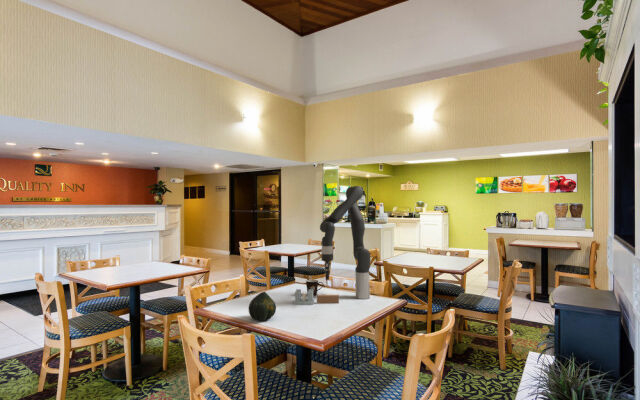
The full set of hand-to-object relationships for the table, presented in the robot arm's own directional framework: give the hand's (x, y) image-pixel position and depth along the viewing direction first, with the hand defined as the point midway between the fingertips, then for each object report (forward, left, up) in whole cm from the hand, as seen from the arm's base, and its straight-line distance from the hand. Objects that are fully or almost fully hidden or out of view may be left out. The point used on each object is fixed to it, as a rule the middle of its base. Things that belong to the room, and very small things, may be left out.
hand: (327, 278), depth 228 cm
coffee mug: (+10, -20, -16) cm, 27 cm away
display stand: (+15, 0, -16) cm, 22 cm away
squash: (+35, +34, -16) cm, 51 cm away
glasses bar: (0, 0, -16) cm, 16 cm away
